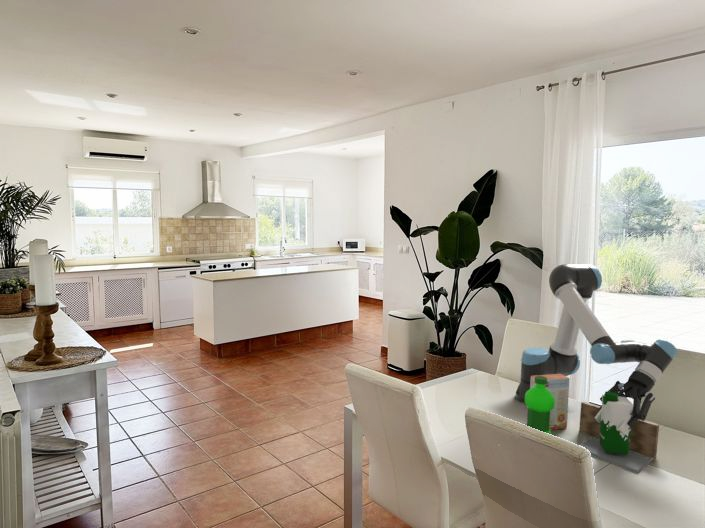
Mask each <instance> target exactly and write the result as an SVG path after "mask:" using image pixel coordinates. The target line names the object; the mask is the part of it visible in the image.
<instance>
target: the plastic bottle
mask: <svg viewBox="0 0 705 528" xmlns="http://www.w3.org/2000/svg"><path fill="white" fill-rule="evenodd" d="M535 383H536V386H535V387H533V388H531V389H530V390H528V391H527V392H526V394H525V403H524V404H525V406H526V407H527V415H526V417H527V418H526V425H527V426H530V427H532V428H535V429H538V430H540V431H543V432H546V433H549V434H551V435H552V430H550V429H549V422H550V411H551V410H552V409H553V408H554V404H555V399H554V396H553V394H552V393H551V392H550V391H549V390H548V389H546V388H545V384H547V378H546V377H543V376H535ZM526 425H525V426H526Z"/></svg>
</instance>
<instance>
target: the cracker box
mask: <svg viewBox="0 0 705 528" xmlns="http://www.w3.org/2000/svg"><path fill="white" fill-rule="evenodd" d="M535 376H543V377H546V378H547V384H545V388H546V389H548V390H549V391H550V392H551V393H552V394H553V396H554V399H555V404H554V408H553V409H552V410H551V411H550V422H549V429H550V431H552V430H551V429H554V430H562V429H563V430H564V429H567V428H568V427H567V426H568V410H569V392H570V377H568V376H564V375H562V374H549V375H535ZM535 376H531V380H530V389H531V388H533V387H535V386H536V383H535Z"/></svg>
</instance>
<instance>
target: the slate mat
mask: <svg viewBox="0 0 705 528" xmlns="http://www.w3.org/2000/svg"><path fill="white" fill-rule="evenodd" d="M579 445H581V446H583V447H585V448H586V449H588V450H589V451H590V453H591V455H592V457H594V458H597V459H599V460H601V461H602V460H603V461H604V462H607V463H609V464H612V465H615V466H617V467H620V468H623V469H625V470H628V471H630V472H633V473H636V474H638V473H640V472H641V471H642V470H643V469H644V468H645V467H647V466H648V465H649V464H650V463H651V462H652V461H653V458H650V457H647V456H644V455H642V454H639V453H636V452H633V451H630V450H629V451H628V455H627V454H618V453H609V452H605V450H604V449H603V447H602V446H601V444H600V439H597V438H594V437H590V438H588V439H587V440H585V441H584V442H582V443H581V444H579ZM591 455H590V456H591Z"/></svg>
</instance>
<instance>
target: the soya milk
mask: <svg viewBox="0 0 705 528" xmlns="http://www.w3.org/2000/svg"><path fill="white" fill-rule="evenodd" d="M604 394H605V395H604ZM604 394H602V395H601V397H602V402H601V405H602V412H601V424H600V439H599V440H600V444H601V446H602V447H603V449H604V450H605V452H609V453H618V454H627V455H628V451H629V443H630V434H631V427H629V428H628V430H627V431H626V433H625V434H622V433H621V432H620V430H619V428H620V426H621V425H622V424H623V422H624V421H625V419H626V418H627V417H628V416H629V415H632V414H631V413H632V411H633V406H634V405H633V402H631V401H630V400H629V398H628V397H627V398H626V397H619V396H618V394H617V393H615V392H610V391H609V390H607V391H605V392H604ZM632 416H633V415H632Z"/></svg>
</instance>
